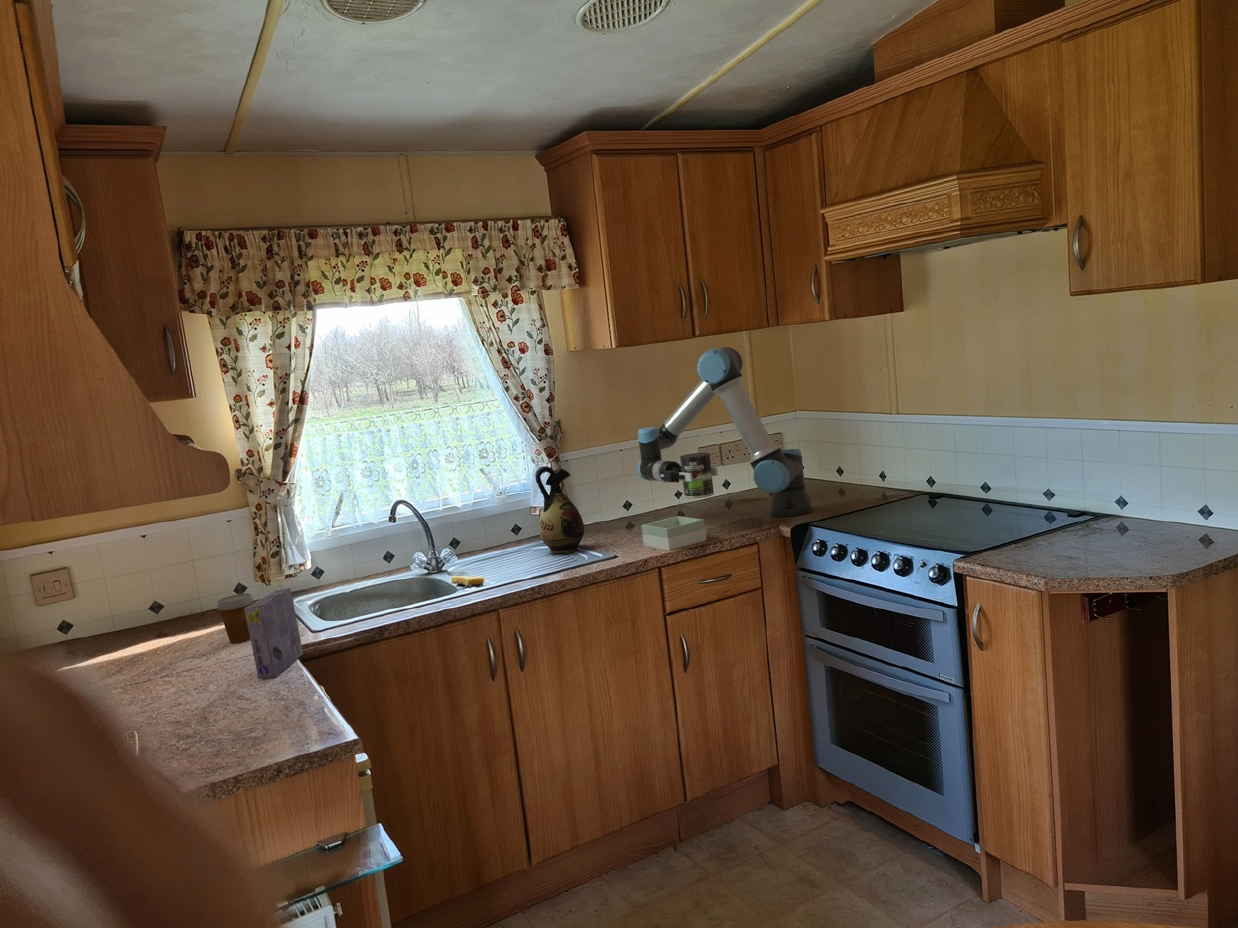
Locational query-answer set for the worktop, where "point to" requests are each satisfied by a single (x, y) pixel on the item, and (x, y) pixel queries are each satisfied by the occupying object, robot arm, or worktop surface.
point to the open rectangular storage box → (673, 532)
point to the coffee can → (697, 475)
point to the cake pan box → (273, 633)
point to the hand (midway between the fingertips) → (704, 474)
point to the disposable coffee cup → (235, 616)
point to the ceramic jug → (558, 514)
